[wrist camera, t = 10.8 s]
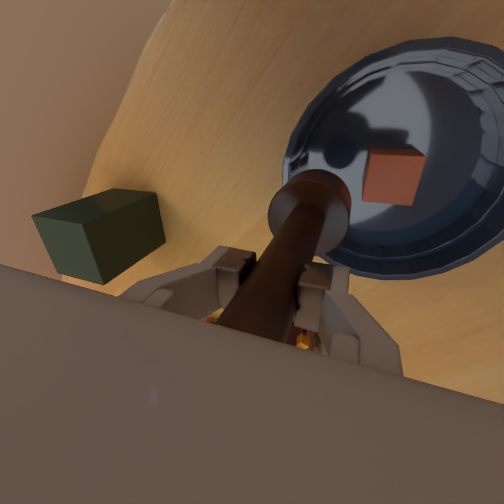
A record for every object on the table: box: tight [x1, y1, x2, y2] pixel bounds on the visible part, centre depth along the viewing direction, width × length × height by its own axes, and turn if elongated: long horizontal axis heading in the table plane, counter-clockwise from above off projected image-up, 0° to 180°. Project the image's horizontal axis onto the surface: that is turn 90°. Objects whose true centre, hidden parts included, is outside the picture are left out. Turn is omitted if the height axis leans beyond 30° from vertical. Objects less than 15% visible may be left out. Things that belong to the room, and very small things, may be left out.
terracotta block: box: [362, 148, 427, 206], centre depth 23 cm, size 4×4×4 cm
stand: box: [32, 188, 165, 285], centre depth 35 cm, size 8×8×12 cm
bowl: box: [282, 37, 504, 280], centre depth 23 cm, size 18×18×6 cm
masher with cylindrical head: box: [215, 169, 352, 343], centre depth 11 cm, size 5×5×14 cm
